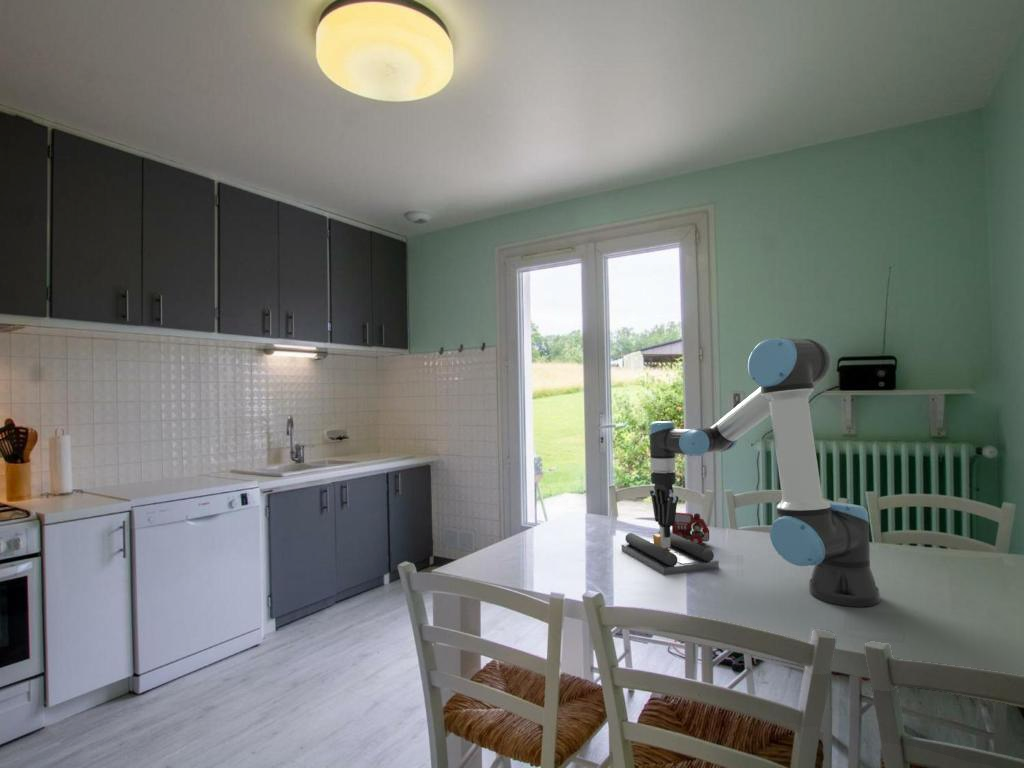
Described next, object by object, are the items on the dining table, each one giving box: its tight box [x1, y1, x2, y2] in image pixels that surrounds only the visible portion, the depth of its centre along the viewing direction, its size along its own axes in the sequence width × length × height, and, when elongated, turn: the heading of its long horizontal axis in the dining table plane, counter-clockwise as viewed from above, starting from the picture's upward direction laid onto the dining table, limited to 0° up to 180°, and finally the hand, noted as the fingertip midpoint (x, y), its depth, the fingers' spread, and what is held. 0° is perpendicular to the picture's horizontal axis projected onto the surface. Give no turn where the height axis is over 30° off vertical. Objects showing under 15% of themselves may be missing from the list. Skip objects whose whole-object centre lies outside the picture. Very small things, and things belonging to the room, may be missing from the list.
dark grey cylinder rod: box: [625, 532, 678, 566], centre depth 171 cm, size 28×4×4 cm, turn 16°
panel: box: [621, 540, 720, 576], centre depth 173 cm, size 26×18×2 cm
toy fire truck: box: [671, 511, 710, 546], centre depth 189 cm, size 7×12×10 cm, turn 64°
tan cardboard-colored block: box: [652, 533, 670, 549], centre depth 176 cm, size 3×4×4 cm
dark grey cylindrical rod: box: [657, 530, 715, 561], centre depth 175 cm, size 28×4×4 cm, turn 16°
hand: (665, 546), depth 174 cm, fingers closed
